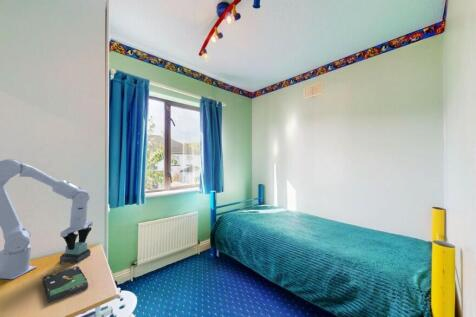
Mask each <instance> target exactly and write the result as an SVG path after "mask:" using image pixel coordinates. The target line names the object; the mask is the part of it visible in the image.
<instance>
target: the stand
mask: <svg viewBox="0 0 476 317" xmlns="http://www.w3.org/2000/svg"><path fill="white" fill-rule="evenodd" d="M91 252H92V250H90V249H89V248H87V250H86V251H84V252H82V253H81V254H79V255H76V254H65V252H64V253H62V254H61V255H60V256H59V262H62V263H63V262H64V263H76V264H77V263H78V264H79V262H81V261H83V260H84V259H86V258H87V257H90V256H91Z"/></svg>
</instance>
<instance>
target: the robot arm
mask: <svg viewBox="0 0 476 317" xmlns="http://www.w3.org/2000/svg"><path fill="white" fill-rule="evenodd" d="M17 175H18V177H19V178H20V177H21V178H22V177H23V178H24V177H25V178H32V179H34V180H36V181H38V182H40V183H43V184H45V185H47V186H49V187H51V188H52V192H54V193H55V194H58V195H60V196H62V197H64V198H65V199H71V202H72V203H71V207H70V220H69V227H67V228H66V229H64V230H62V231H60V237H61V238H63V239H64V241H65V244H66V246H67V247H68V250H73V249H74V247H75V242H77V238H78V242H84V243H86V241H87V239H88V235H89V234H90V232H91V231H92V226H93V221H92V220H91V221H90V220H88V219H87V217H88V202H89V201H90V195H89V192H87V191H86V190H85V189H82V187H80V186H79V187H78V186H76V185H74V184H73V183H72V182H71V181H70V180H65V179H62V180H58V179H56V178H54V177H52V176H50V175H49V174H47V173H45V172H44V171H41V170H40V169H38V168H36V167H35V166H32V165H29V164H27V163H25V162H21V161H19V160H18V159H13V158H7V159H3V160H2V159H1V160H0V228H1V230H2V235H3V239H4V243H3V244H4V245H3V249H1V250H0V279H4V280H5V279H6V280H15V279H17V278H19V277H21V276H23V275H24V274H26V273H28V272H30V271H32V270H34V269H36V268H37V266H36V265H30V263H31V251H32V245H31V244H30V241H31V240H30V238H31V232H30V230H28V229H26V228H25V227H24V225H23V223H22V222H21V221H20V219H19V216H18V214H17V212H16V209H15V208H14V205H13V202H12V201H11V198H10V196H9V193H8V191H7V190H6V186H5V185H6V184H7V183H8V182H9V180H10V179H11V178H14V177H15V176H17ZM87 220H88V221H87ZM76 232H77V234H76Z"/></svg>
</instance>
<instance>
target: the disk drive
mask: <svg viewBox="0 0 476 317" xmlns="http://www.w3.org/2000/svg"><path fill="white" fill-rule="evenodd" d="M42 286H43V288H45V289H44V292H45V296H46V299H47V303H48V304H50V303H52V302H55V301H57V300H58V301H59V300H60V299H63V298H65V297H68V296H72V295H73V294H76V293H79V292H81V291H83V290H87V289H89V282H88V279H87V277H86V276H85V274H84V272H83V271H82V269H81V268H80V266H74V267H71V268H68V269H64V270H60V271H58V272H57V273H55V274H52V273H51V274H47V275H45V276H43V277H42Z"/></svg>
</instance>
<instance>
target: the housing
mask: <svg viewBox="0 0 476 317" xmlns="http://www.w3.org/2000/svg"><path fill="white" fill-rule="evenodd" d="M87 249H88V242H85V243H84V242H79V241H75V247H74V249H73V250H68V247H67V245H65V250H64V251H65V252H64V253H65V254H76V255H79V254H81V253H82V252H84V251H86V250H87Z"/></svg>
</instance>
